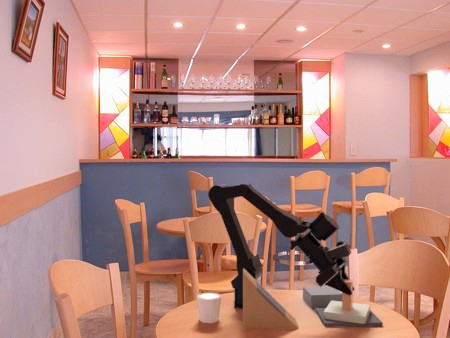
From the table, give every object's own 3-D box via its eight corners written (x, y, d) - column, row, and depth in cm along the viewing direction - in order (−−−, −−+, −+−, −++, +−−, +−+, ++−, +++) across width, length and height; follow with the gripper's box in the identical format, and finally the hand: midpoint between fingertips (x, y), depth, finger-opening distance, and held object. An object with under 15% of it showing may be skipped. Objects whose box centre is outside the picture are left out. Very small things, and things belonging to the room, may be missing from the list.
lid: (323, 318, 138) (323, 283, 138) (331, 306, 148) (331, 274, 148) (365, 324, 133) (365, 287, 133) (370, 311, 144) (370, 278, 144)
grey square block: (311, 308, 150) (311, 295, 150) (302, 298, 160) (302, 286, 160) (342, 307, 151) (342, 294, 151) (332, 297, 161) (332, 285, 161)
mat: (324, 326, 134) (324, 323, 134) (315, 311, 147) (315, 308, 147) (382, 326, 135) (382, 322, 134) (367, 310, 148) (367, 307, 147)
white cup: (193, 322, 138) (193, 297, 138) (202, 314, 144) (202, 291, 144) (215, 325, 136) (215, 300, 135) (224, 317, 142) (224, 293, 142)
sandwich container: (300, 329, 132) (300, 275, 132) (243, 329, 133) (243, 275, 132) (295, 319, 141) (295, 267, 141) (242, 318, 141) (242, 267, 141)
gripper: (327, 238, 133) (369, 282, 129) (339, 228, 150) (376, 267, 146) (299, 264, 136) (339, 308, 132) (314, 252, 154) (349, 290, 150)
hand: (352, 292), depth 140 cm, fingers open, 4 cm apart
